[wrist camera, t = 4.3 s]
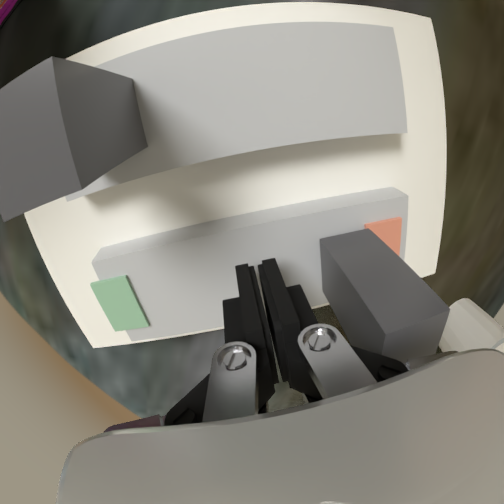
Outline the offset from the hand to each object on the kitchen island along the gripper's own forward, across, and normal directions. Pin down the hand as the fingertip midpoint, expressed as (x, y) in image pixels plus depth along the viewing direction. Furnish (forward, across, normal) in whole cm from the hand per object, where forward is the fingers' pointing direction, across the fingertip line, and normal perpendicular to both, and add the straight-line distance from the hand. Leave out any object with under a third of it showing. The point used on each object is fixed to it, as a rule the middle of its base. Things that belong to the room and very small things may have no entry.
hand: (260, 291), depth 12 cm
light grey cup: (+6, -19, +14) cm, 25 cm away
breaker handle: (+1, -4, 0) cm, 4 cm away
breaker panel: (+6, 0, -4) cm, 7 cm away
